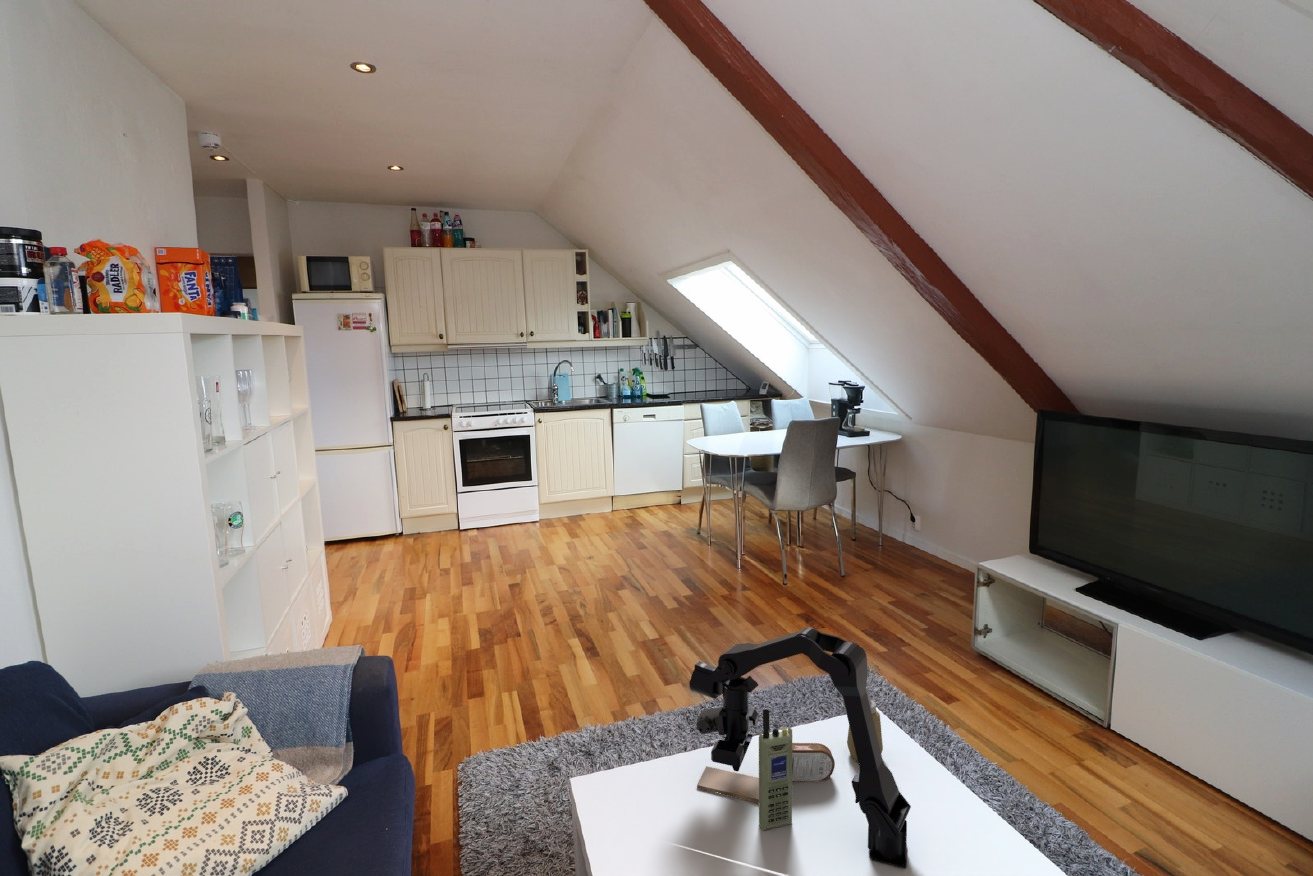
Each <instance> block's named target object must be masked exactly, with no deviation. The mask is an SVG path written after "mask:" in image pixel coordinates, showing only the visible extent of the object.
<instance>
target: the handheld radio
mask: <svg viewBox="0 0 1313 876" xmlns="http://www.w3.org/2000/svg"><path fill="white" fill-rule="evenodd" d="M787 728H788V729H787ZM787 728H786V727H782V729H781V731H779V730H778V728H773V729H772V732H771V733H770V710H769V709H767V708H765V709H763V710H762V729H763V731H762V732H761V731H759V733H758V734H759V735H758V778H759V803H758V823H759V827H760V829H761V830H762V831H767V830H769V829H774V828H779V827H784V826H788V825H792V823H793V783H792V743H793V729H792V728H791V727H790V726H788V727H787Z"/></svg>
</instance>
